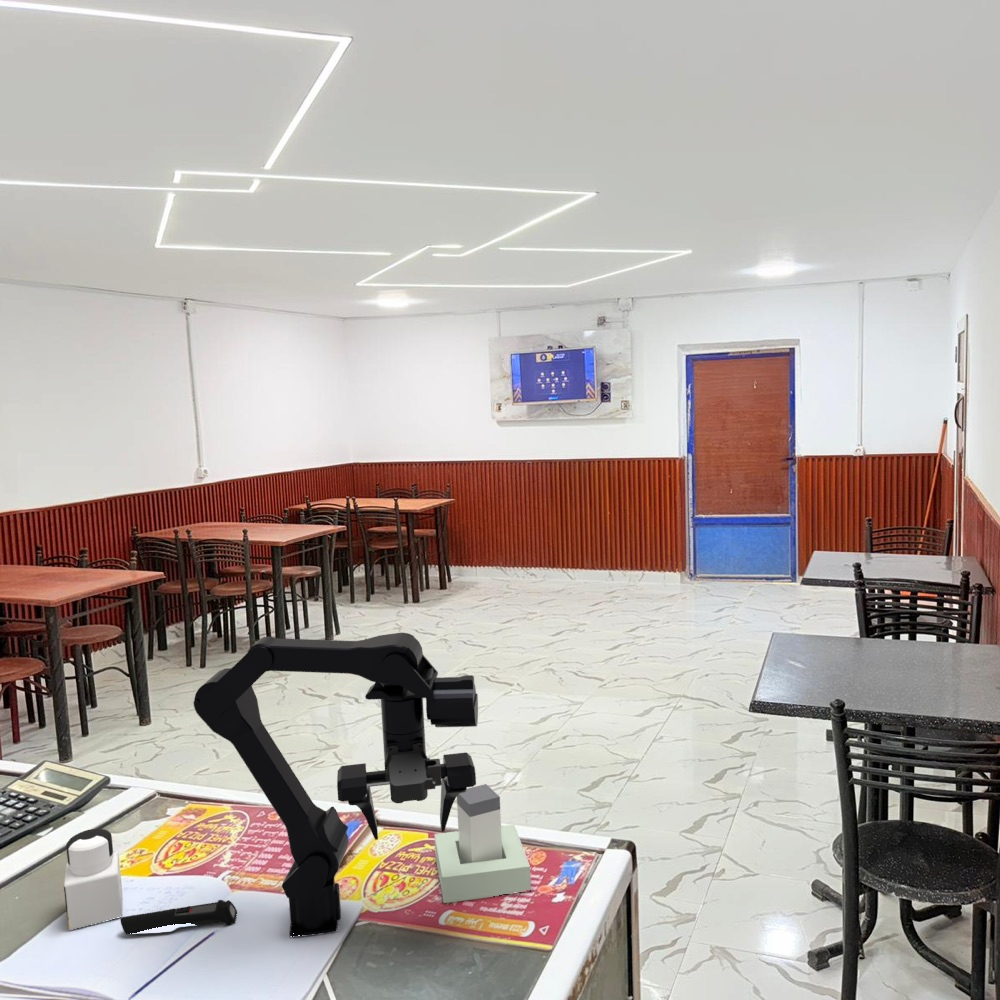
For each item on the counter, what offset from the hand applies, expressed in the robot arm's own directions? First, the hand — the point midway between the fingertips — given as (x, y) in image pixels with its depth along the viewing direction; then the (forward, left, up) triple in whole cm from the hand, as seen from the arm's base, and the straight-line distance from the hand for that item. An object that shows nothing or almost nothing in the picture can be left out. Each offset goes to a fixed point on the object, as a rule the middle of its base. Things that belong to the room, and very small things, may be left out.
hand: (409, 834), depth 123 cm
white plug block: (+11, +10, -12) cm, 19 cm away
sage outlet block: (+11, +10, -13) cm, 20 cm away
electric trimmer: (-33, +6, -14) cm, 36 cm away
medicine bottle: (-46, +13, -13) cm, 50 cm away
